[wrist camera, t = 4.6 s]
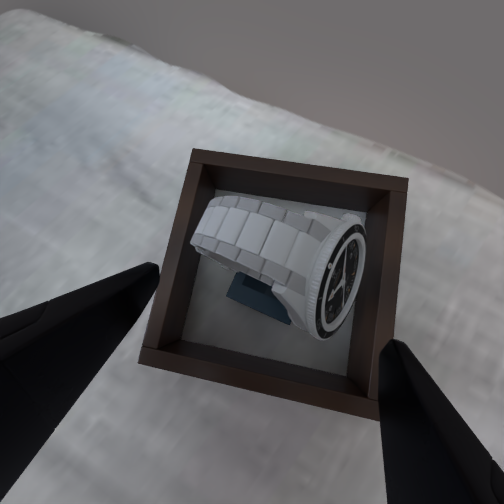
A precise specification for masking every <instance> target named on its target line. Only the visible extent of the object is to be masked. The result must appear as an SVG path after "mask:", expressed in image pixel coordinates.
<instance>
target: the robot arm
mask: <svg viewBox="0 0 504 504" xmlns="http://www.w3.org/2000/svg"><path fill="white" fill-rule="evenodd" d="M159 283H160V273H159V266H158V265H157V264H154V263H151V262H146V263H144V264H141V265H138V266H136V267H133V268H131V269H128V270H126V271H123V272H120V273H118V274H115V275H113V276H110V277H108V278H105V279H103V280H100V281H97V282H95V283H92V284H90V285H87V286H85V287H82V288H80V289H77V290H74V291H72V292H69V293H67V294H64V295H62V296H59V297H56V298H54V299H51V300H50V301H46V302H43V303H41V304H38V305H36V306H33V307H30V308H28V309H25V310H22V311H20V312H17V313H14V314H11V315H8V316H5V317H2V318H0V502H1V501H2V499H3V498H4V497H5V495H6V494H7V493H8V491H9V490H10V489H11V487H12V486H13V485H14V483H15V482H16V481H17V479H18V478H19V477H20V475H21V474H22V473H23V471H24V470H25V469H26V467H27V466H28V465H29V463H30V462H31V461H32V459H33V458H34V457H35V455H36V454H37V453H38V451H39V450H40V449H41V447H42V446H43V445H44V444H45V442H46V441H47V440H48V438H49V437H50V436H51V434H52V433H53V432H54V430H55V429H54V428H56V427H57V426H58V425H59V423H60V422H61V421H62V419H63V418H64V417H65V415H66V414H67V413H68V411H69V410H70V409H71V407H72V406H73V405H74V403H75V402H76V401H77V399H78V398H79V397H80V395H81V394H82V393H83V391H84V390H85V389H86V387H87V386H88V385H89V383H90V382H91V381H92V380H93V378H94V377H95V376H96V374H97V373H98V372H99V370H100V369H101V368H102V366H103V365H104V364H105V362H106V361H107V360H108V358H109V357H110V356H111V354H112V353H113V352H114V350H115V349H116V348H117V346H118V345H119V344H120V342H121V341H122V340H123V338H124V337H125V336H126V334H127V333H128V332H129V330H130V329H131V328H132V326H133V325H134V324H135V322H136V321H137V320H138V318H139V317H140V315H141V314H142V312H143V310H144V309H145V307H146V305H147V304H148V302H149V300H150V299H151V297H152V295H153V294H154V292H155V290H156V289H157V287H158V285H159ZM378 406H379V417H380V428H381V439H382V450H383V461H384V472H385V483H386V493H387V504H504V472H503V471H502V469H501V468H500V467H499V465H498V464H497V463H496V462H495V461H494V460H492V456H491V455H490V454H489V452H488V451H487V450H486V449H485V447H484V446H483V445H482V443H481V442H480V441H479V439H478V438H477V437H476V435H475V434H474V433H473V431H472V430H471V429H470V428H469V426H468V425H467V424H466V422H465V421H464V420H463V418H462V417H461V416H460V414H459V413H458V412H457V410H456V409H455V408H454V407H453V405H452V404H451V403H450V401H449V400H448V399H447V397H446V396H445V395H444V393H443V392H442V391H441V390H440V388H439V387H438V386H437V384H436V383H435V382H434V380H433V379H432V378H431V376H430V375H429V374H428V372H427V371H426V370H425V369H424V367H423V366H422V365H421V363H420V362H419V361H418V359H417V358H416V357H415V355H414V354H413V353H412V351H411V350H410V349H409V348H408V346H407V345H406V344H405V343H404V342H402V341H399V340H396V339H390V340H389V341H388V343H387V344H386V345H385V346H384V348H383V349H382V350H381V352H380V354H379V371H378Z"/></svg>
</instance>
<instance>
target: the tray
mask: <svg viewBox="0 0 504 504" xmlns="http://www.w3.org/2000/svg"><path fill="white" fill-rule="evenodd" d="M408 180H409V178H404V177H397V176H390V175H382V174H375V173H368V172H361V171H354V170H346V169H339V168H332V167H325V166H317V165H310V164H303V163H296V162H289V161H281V160H274V159H267V158H260V157H252V156H245V155H238V154H231V153H224V152H216V151H209V150H202V149H195V148H193V149H192V153H191V157H190V162H189V165H188V169H187V173H186V177H185V181H184V185H183V188H182V192H181V196H180V200H179V204H178V208H177V212H176V216H175V219H174V223H173V227H172V231H171V235H170V239H169V243H168V247H167V250H166V254H165V258H164V262H163V266H162V270H161V274H160V283H159V285H158V287H157V289H156V293H155V297H154V301H153V305H152V309H151V313H150V316H149V320H148V324H147V328H146V332H145V336H144V340H143V344H142V345H143V346H142V347H141V351H140V355H139V359H138V364H142V365H147V366H151V367H155V368H159V369H163V370H167V371H172V372H176V373H180V374H184V375H188V376H192V377H196V378H201V379H205V380H209V381H213V382H217V383H221V384H226V385H230V386H234V387H238V388H242V389H246V390H251V391H255V392H259V393H263V394H267V395H271V396H276V397H280V398H284V399H288V400H292V401H296V402H300V403H305V404H309V405H313V406H317V407H321V408H325V409H330V410H334V411H338V412H342V413H346V414H350V415H355V416H359V417H363V418H367V419H371V420H375V421H380V417H379V406H378V371H379V354H380V352H381V350H382V349H383V348H384V346H385V345H386V344H387V343H388V341H389V340H390V339H393V336H394V326H395V315H396V305H397V294H398V284H399V273H400V263H401V253H402V242H403V232H404V221H405V211H406V201H407V190H408ZM216 189H220V190H226V191H233V192H239V193H246V194H252V195H259V196H265V197H272V198H278V199H284V200H291V201H297V202H304V203H310V204H317V205H323V206H330V207H336V208H343V209H349V210H355V211H362V212H367V214H366V222H365V231H366V237H367V254H366V262H365V267H364V272H363V276H362V280H361V283H360V286H359V289H358V292H357V295H356V303H355V311H354V319H353V327H352V335H351V343H350V351H349V360H348V368H347V377H346V376H342V375H338V374H333V373H329V372H324V371H320V370H315V369H311V368H306V367H302V366H298V365H293V364H289V363H284V362H280V361H275V360H271V359H266V358H262V357H258V356H253V355H249V354H244V353H240V352H235V351H231V350H226V349H222V348H218V347H213V346H209V345H204V344H200V343H195V342H191V341H186V340H182V339H181V336H182V332H183V327H184V323H185V319H186V315H187V310H188V306H189V302H190V298H191V293H192V289H193V285H194V280H195V276H196V272H197V268H198V263H199V259H200V255H201V254H200V253H199V252H197V251H196V249H195V246H193V245H192V244H190V241H191V239H192V237H193V235H194V233H195V231H196V229H197V226H198V224H199V222H200V220H201V218H202V216H203V214H204V212H205V210H206V208H207V206H208V204H209V202H210V201H211V200H212V199H214V195H215V191H216Z"/></svg>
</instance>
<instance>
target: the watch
mask: <svg viewBox="0 0 504 504" xmlns="http://www.w3.org/2000/svg"><path fill="white" fill-rule="evenodd" d="M286 212H287V214H286ZM285 214H286V216H285ZM284 216H285V218H284ZM283 219H284V221H283ZM282 221H283V222H282ZM360 222H361V219H360V217H358V216H357V215H354V214H351V213H345V214H343V216H342V219H341V220H340V219H337V218H334V217H331V216H327V215H324V214H321V213H317V212H313V211H307V210H306V211H305V212H304V215H300V214H297V213H295V212H292V211H287V209H285V208H282V207H279V206H276V205H273V204H269V203H265V202H263V203H262V201H259V200H255V199H250V198H244V197H239V196H224V197H223V196H222V197H216V198H214V199H212V200H211V201H210V202H209V204H208V206H207V208H206V210H205V212H204V214H203V216H202V218H201V220H200V222H199V224H198V226H197V229H196V231H195V233H194V235H193V237H192V239H191V241H190V244H192V245H193V246H195V249H196V251H197V252H199V253H200V254H202V255H204V256H206V257H208V258H210V259H212V260H214V261H215V262H217V263H219V264H221V265H222V266H221V267H222V268H224V269H226V270H228V269H231V270H233V271H236V272H237V273H236V275H235V277H234V279H233V281H232V284H231V286H230V288H229V290H228V292H227V295H226V296H227V297H229V298H231V299H233V300H235V301H237V302H240V303H242V304H244V305H246V306H248V307H250V308H253V309H255V310H257V311H259V312H261V313H264V314H266V315H268V316H270V317H272V318H274V319H277V320H279V321H281V322H283V323H285V324H288V325H290V323H291V321H292V322H293V323H294V324H295V325H296V326H297V327H299V328H301V329H303V330H305V331H307V332H309V333H311V335H312V336H313V337H314V338H316V339H318V340H321V341H325V340H327V339H329V338H331V337H332V336H333V335H334V334H335V333H336V332H337V330H338V329H339V328H340V327H341V325H342V324H343V322H344V321H345V319H346V317H347V315H348V313H349V311H350V309H351V307H352V305H353V303H354V300H355V298H356V295H357V292H358V289H359V286H360V283H361V280H362V276H363V272H364V267H365V262H366V254H367V237H366V231H365V228H364V226H363V224H362V223H360Z"/></svg>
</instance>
